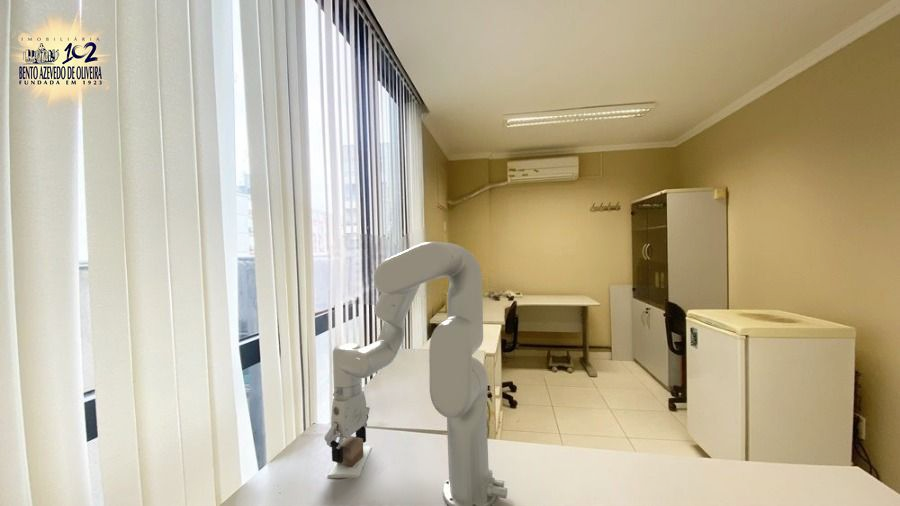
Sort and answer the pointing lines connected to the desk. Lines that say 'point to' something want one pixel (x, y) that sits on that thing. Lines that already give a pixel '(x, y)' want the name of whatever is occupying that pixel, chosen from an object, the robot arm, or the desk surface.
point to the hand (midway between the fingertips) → (349, 451)
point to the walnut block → (352, 450)
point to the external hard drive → (348, 471)
